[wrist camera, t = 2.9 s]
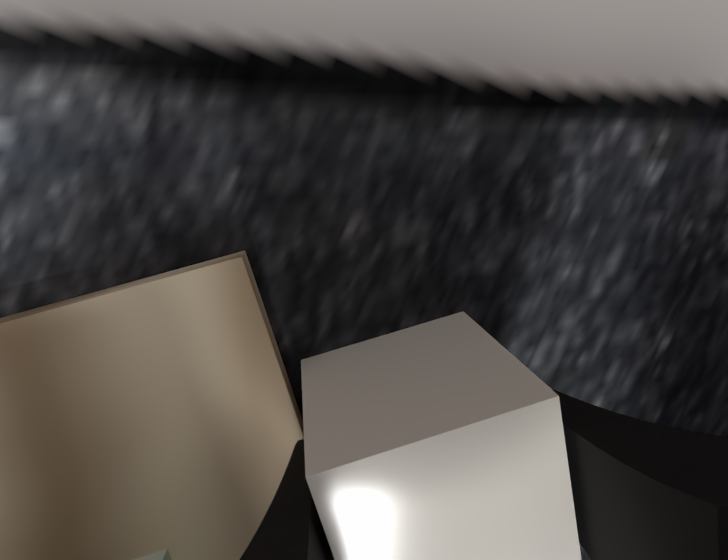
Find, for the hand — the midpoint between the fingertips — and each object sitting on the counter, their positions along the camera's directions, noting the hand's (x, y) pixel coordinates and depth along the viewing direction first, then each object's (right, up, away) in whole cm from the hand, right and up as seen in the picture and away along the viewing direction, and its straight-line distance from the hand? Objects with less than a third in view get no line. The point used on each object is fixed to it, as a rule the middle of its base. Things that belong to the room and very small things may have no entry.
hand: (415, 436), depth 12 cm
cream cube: (0, 0, +1) cm, 2 cm away
